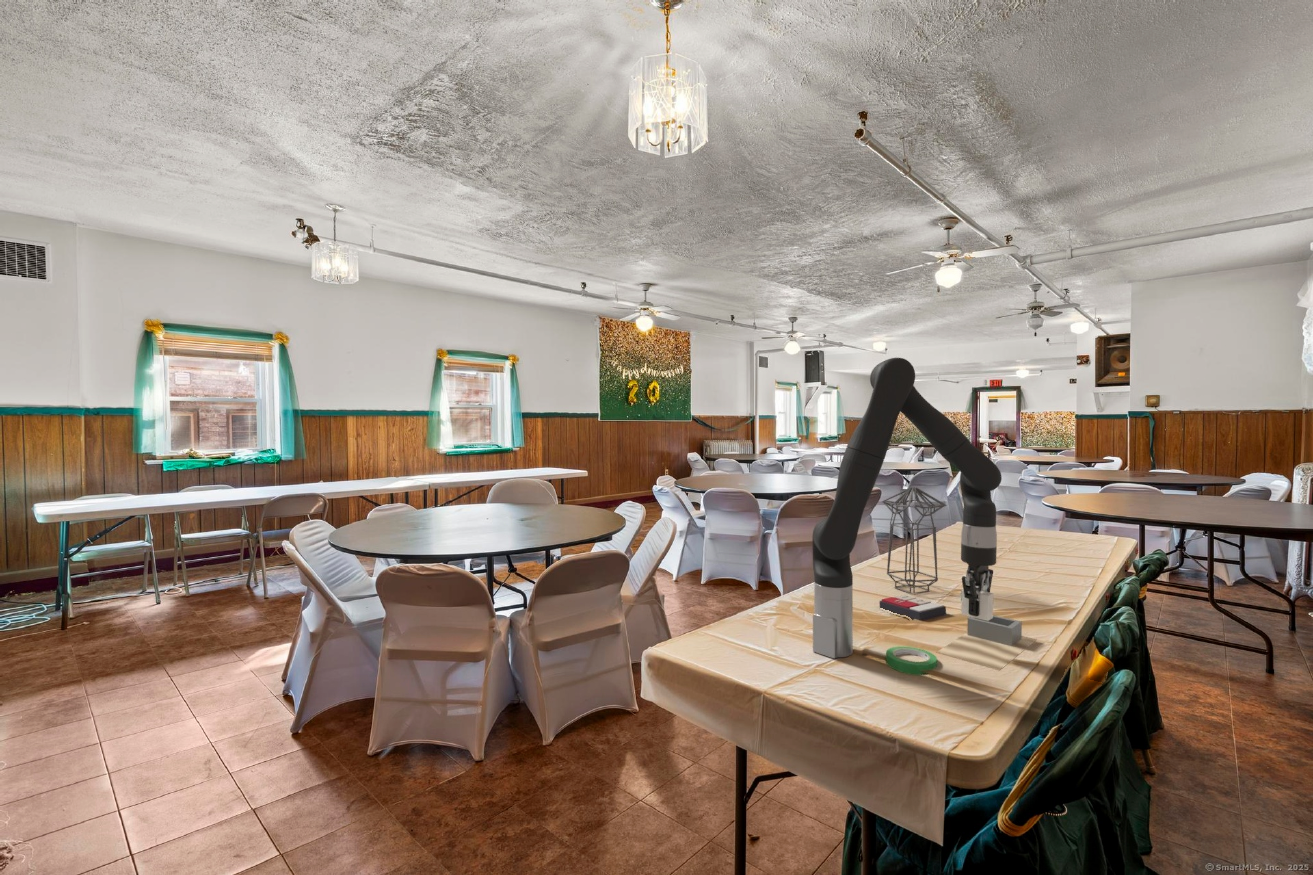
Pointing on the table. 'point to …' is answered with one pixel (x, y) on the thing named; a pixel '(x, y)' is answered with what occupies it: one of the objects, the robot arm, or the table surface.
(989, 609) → the white block
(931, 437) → the robot arm
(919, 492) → the geometric lantern
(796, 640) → the table surface
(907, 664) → the tape roll
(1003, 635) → the end holder
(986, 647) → the beige mat
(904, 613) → the calculator
